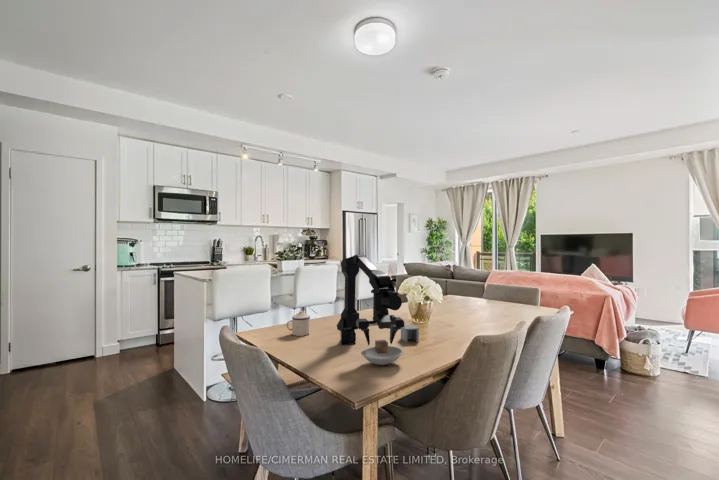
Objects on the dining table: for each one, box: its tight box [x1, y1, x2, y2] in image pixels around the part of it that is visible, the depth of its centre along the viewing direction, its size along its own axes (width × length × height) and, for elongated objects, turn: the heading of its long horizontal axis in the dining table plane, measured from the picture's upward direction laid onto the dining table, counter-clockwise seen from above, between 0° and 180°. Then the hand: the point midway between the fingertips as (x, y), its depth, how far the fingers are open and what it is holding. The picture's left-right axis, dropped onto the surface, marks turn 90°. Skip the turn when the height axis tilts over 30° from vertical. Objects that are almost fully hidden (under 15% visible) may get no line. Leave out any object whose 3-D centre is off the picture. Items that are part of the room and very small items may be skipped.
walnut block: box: [374, 339, 389, 354], centre depth 135 cm, size 4×4×4 cm
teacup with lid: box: [285, 310, 311, 337], centre depth 176 cm, size 12×9×12 cm
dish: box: [360, 345, 405, 366], centre depth 134 cm, size 18×14×5 cm
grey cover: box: [400, 324, 420, 344], centre depth 166 cm, size 7×7×6 cm
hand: (379, 344), depth 139 cm, fingers open, 9 cm apart
